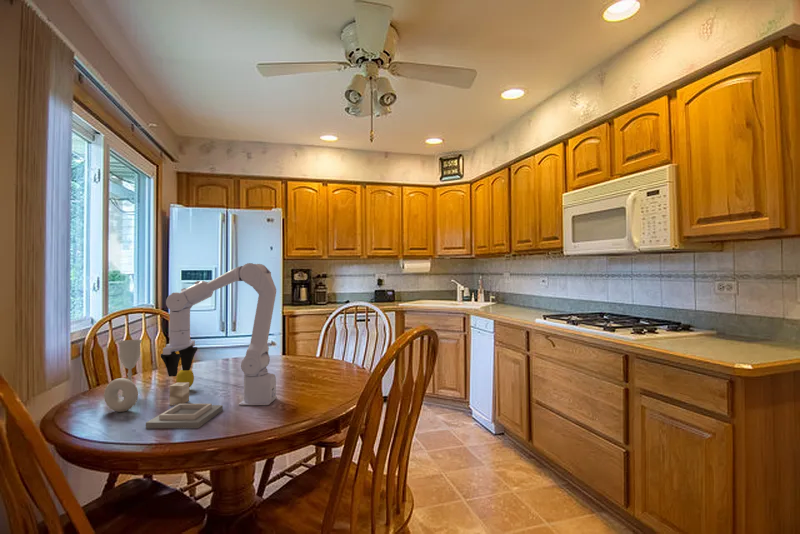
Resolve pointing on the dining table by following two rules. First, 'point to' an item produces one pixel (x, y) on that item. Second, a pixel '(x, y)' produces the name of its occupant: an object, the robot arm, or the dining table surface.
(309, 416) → the dining table surface
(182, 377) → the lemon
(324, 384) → the dining table surface
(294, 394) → the dining table surface
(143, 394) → the dining table surface
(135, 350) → the chalice
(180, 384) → the block
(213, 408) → the base
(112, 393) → the donut
